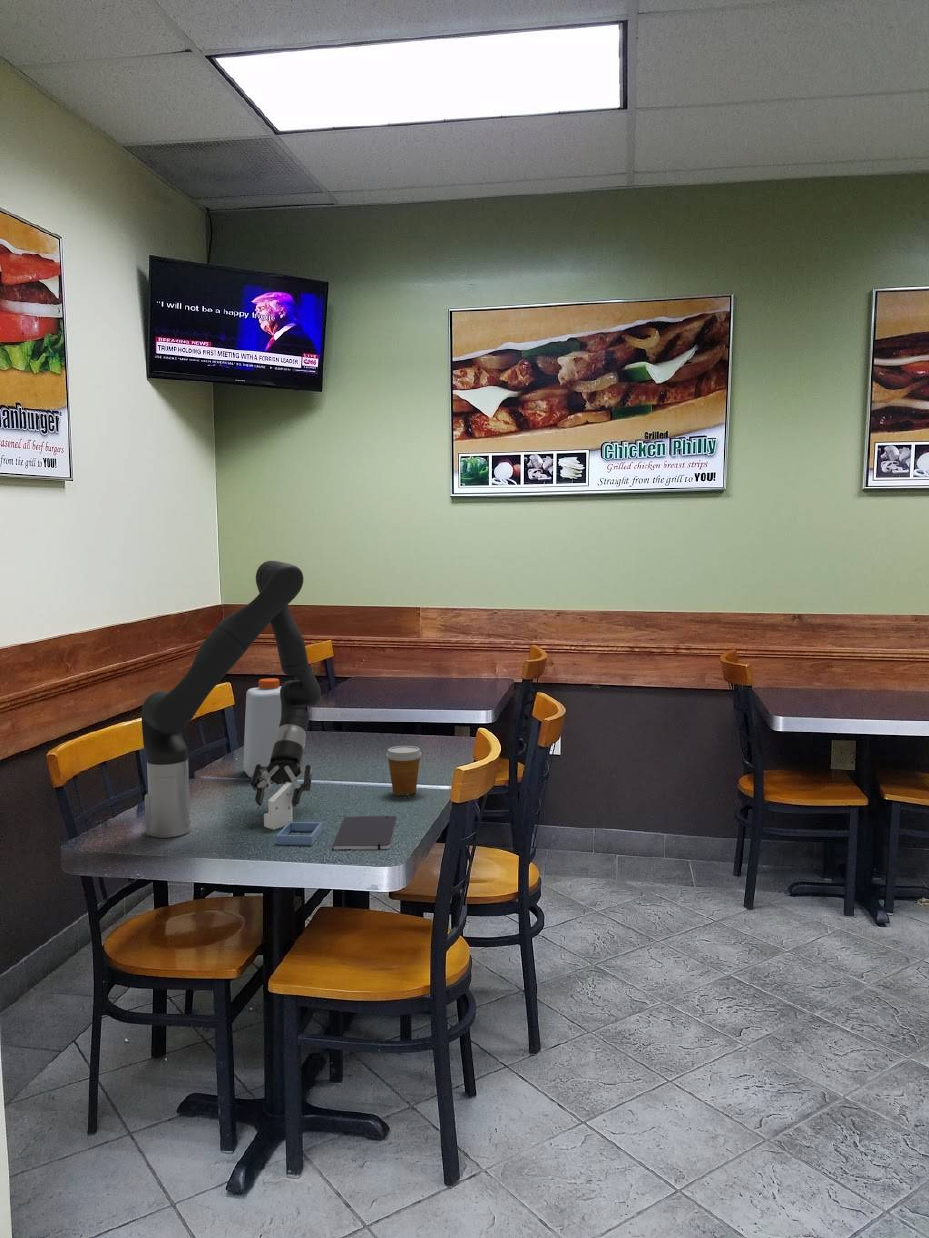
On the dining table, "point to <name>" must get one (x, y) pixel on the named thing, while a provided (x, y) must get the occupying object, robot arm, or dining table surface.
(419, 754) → the disposable coffee cup
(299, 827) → the blue rectangular frame
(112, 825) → the dining table surface
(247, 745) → the plastic bottle
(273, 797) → the white angled block
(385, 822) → the notebook
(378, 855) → the dining table surface
